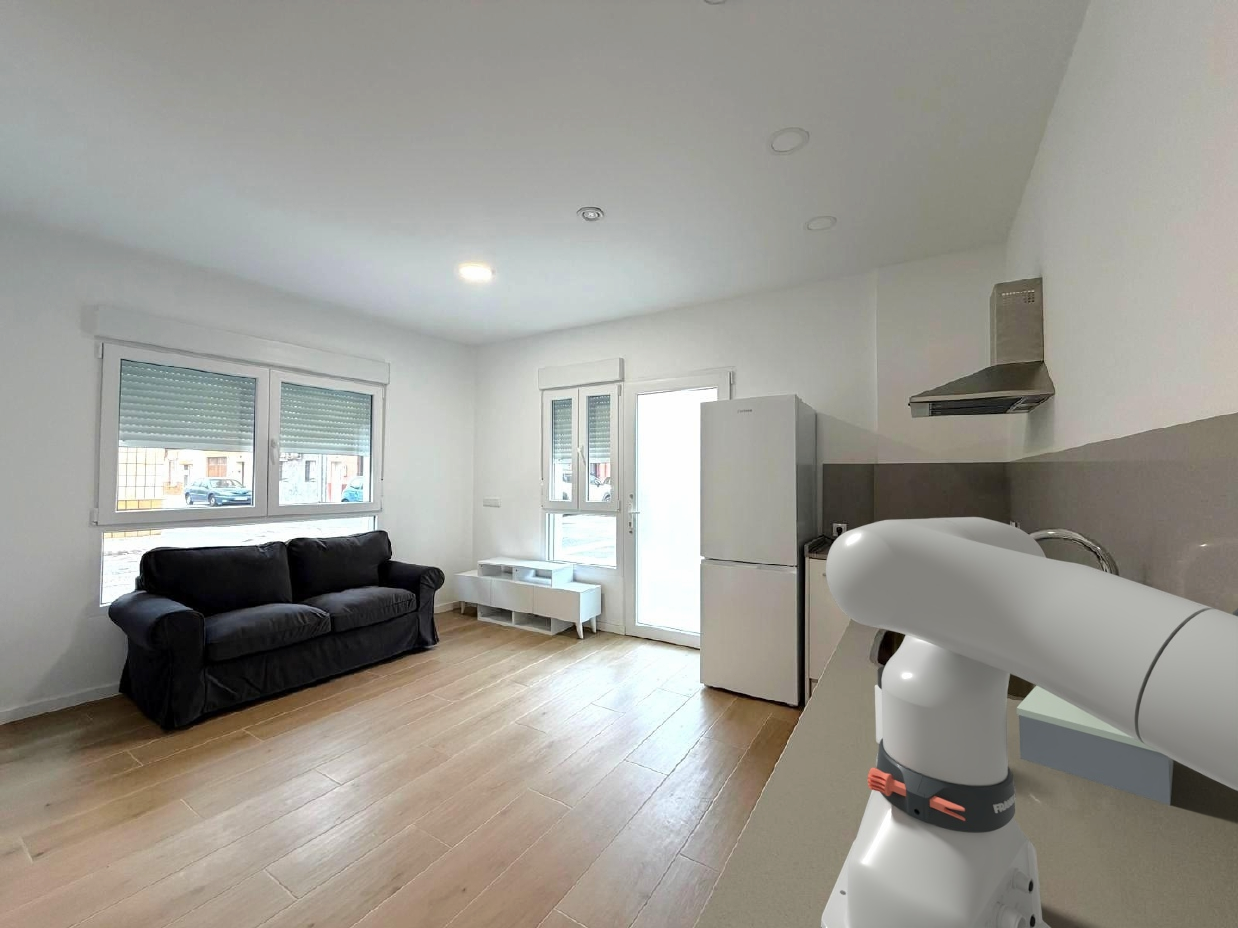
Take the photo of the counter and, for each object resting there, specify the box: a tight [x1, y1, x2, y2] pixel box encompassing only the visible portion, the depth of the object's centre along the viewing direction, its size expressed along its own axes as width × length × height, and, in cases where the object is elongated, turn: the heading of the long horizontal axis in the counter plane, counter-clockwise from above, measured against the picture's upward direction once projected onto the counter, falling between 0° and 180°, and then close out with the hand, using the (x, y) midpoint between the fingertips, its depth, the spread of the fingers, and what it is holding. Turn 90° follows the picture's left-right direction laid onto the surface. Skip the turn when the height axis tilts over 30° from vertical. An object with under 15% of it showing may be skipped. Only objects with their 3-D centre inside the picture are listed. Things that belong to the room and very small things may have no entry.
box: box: [1018, 715, 1174, 806], centre depth 80 cm, size 16×16×7 cm
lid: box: [1016, 685, 1158, 752], centre depth 81 cm, size 16×16×15 cm
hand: (1084, 654), depth 81 cm, fingers closed on lid, 3 cm apart
